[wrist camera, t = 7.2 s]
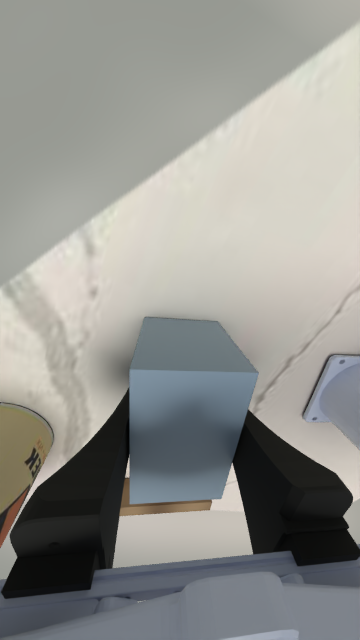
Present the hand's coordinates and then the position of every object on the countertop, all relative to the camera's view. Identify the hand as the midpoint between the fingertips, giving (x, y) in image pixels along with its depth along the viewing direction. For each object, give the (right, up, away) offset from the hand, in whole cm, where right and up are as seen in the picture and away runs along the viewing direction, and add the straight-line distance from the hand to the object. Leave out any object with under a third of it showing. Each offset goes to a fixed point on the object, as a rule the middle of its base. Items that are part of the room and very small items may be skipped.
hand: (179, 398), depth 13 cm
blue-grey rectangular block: (0, +1, +3) cm, 3 cm away
